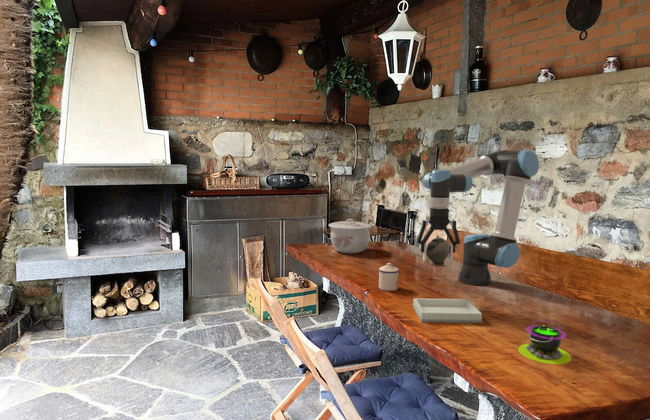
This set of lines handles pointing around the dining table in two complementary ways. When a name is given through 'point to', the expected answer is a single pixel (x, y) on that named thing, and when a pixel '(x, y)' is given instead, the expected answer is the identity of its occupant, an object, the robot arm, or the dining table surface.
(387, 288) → the teacup with lid
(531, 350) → the toy cauldron
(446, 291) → the dining table surface
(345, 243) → the chamber pot
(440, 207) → the robot arm
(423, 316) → the serving tray
